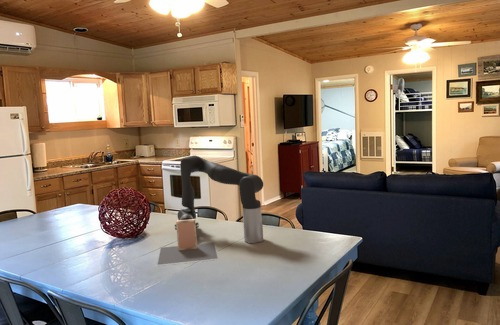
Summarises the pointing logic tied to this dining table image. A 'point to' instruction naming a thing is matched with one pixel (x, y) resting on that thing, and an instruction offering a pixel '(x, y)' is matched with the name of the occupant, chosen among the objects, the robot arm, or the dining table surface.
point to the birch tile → (186, 234)
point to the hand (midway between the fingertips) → (186, 230)
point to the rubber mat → (187, 254)
